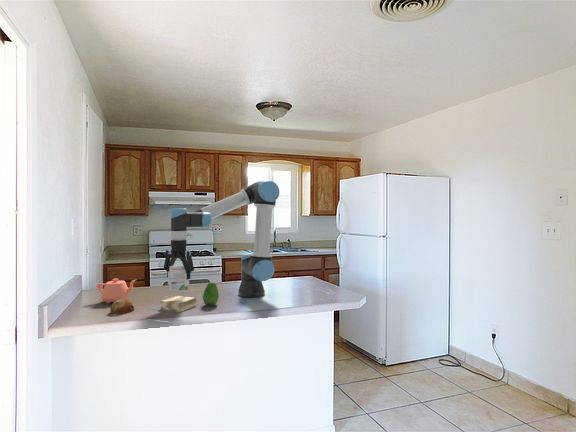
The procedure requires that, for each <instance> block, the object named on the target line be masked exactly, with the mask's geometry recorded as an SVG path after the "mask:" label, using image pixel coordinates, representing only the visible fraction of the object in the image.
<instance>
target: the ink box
mask: <svg viewBox="0 0 576 432" xmlns="http://www.w3.org/2000/svg"><path fill="white" fill-rule="evenodd" d="M185 272H186V271H185V268H184V266H183V264H181V265H173V266H170V278H169V287H168V288H169V291H171V292H172V291H188V289H189V288H188V286H185Z"/></svg>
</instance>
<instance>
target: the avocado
mask: <svg viewBox="0 0 576 432" xmlns="http://www.w3.org/2000/svg"><path fill="white" fill-rule="evenodd" d="M219 295H220V293H219V290H218V286H217V284H216V282H208V283H207V285H206V287H205V289H204V291H203V295H202V301H203V303H204V304H205V306H207V307H213V306H215V305H217V304H218V301H219V298H220V297H219Z"/></svg>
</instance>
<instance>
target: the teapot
mask: <svg viewBox="0 0 576 432" xmlns="http://www.w3.org/2000/svg"><path fill="white" fill-rule="evenodd" d="M137 280H138V279H132V280H131V281H130V283H129V287H128V285H127V283H126V281H125V280H119V278H113V279H112V280H110V281H107V282H105V283H102V282H100V283H96V288H97V290H98V291H99V292H100V294H101V299H102V301H103V302H105V304H107V305H110V304H111V303H114V302H115V301H117V300H119V299H125V300H128V297H129V295H130V294H131V293H132V291H133V289H134V283H135V282H136V281H137ZM102 286H103V289H102Z"/></svg>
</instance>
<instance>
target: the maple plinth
mask: <svg viewBox="0 0 576 432" xmlns="http://www.w3.org/2000/svg"><path fill="white" fill-rule="evenodd" d="M160 305H161V309H164V310H172V311H180V312H179V313H181V311H182V312H185V311H187V310H190V309H191V308H195V307H196V305H197V297H192V296H191V297H190V296H182V295H175V296H172V297H168V298H166V299H161V300H160ZM194 306H195V307H194Z"/></svg>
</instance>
